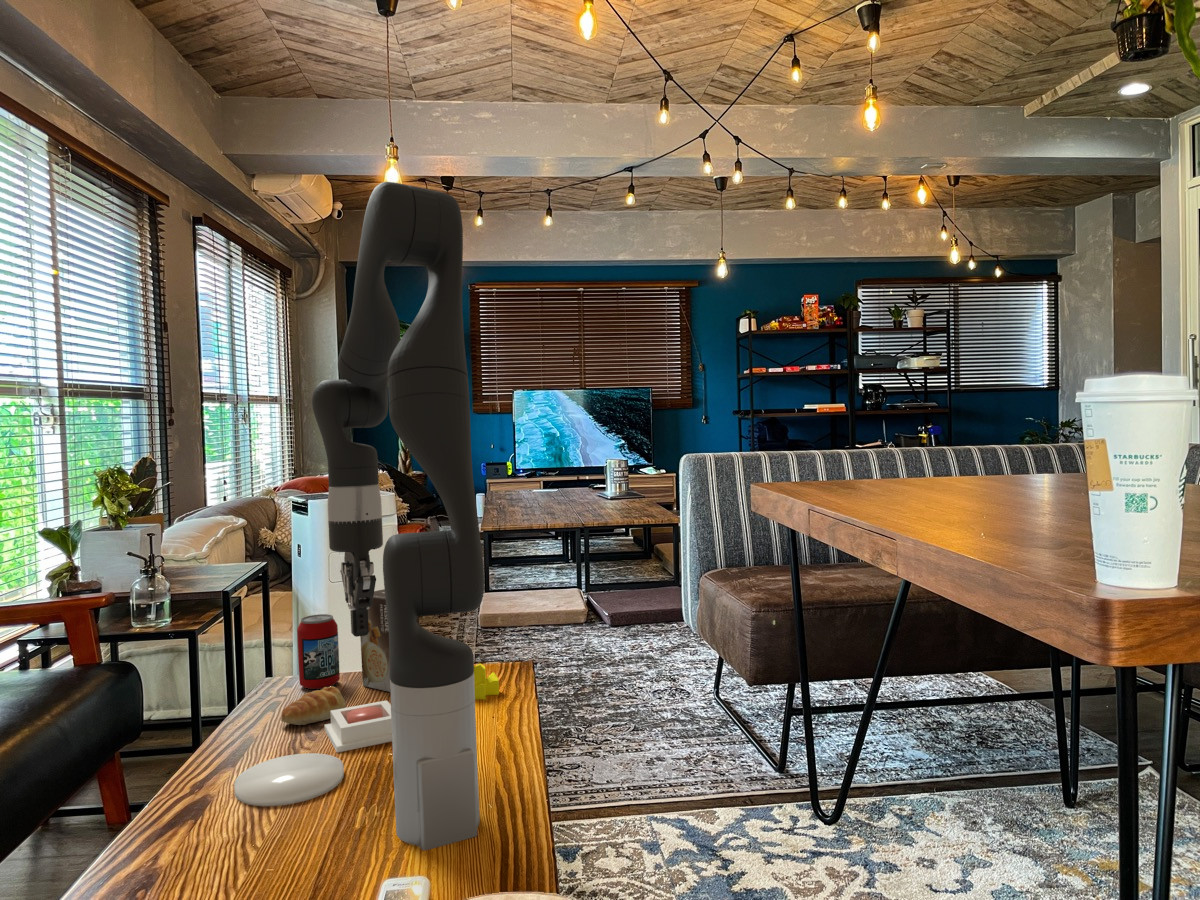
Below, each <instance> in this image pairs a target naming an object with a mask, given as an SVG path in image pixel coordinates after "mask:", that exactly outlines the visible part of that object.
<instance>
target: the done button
mask: <svg viewBox="0 0 1200 900" xmlns="http://www.w3.org/2000/svg"><path fill="white" fill-rule="evenodd" d="M382 717H383V711H382V709H381V708H378V707H364V708H358V709H355V710H352V711H350V712H349V713H348V714H347V722H348V724H351V723H356V722H361V721H366V720H371V719H377V718H382Z"/></svg>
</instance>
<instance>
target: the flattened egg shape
mask: <svg viewBox="0 0 1200 900" xmlns="http://www.w3.org/2000/svg"><path fill="white" fill-rule="evenodd" d="M344 774H345V773H344V762H343V761H342V760H341V759H340V758H338V757H336V756H335V755H334V756H333V755H330V754H327V753H318V752H317V753H314V752H313V753H312V752H309V753H308V752H307V753H296V754H290V755H289V754H288V755H283V756H279V757H278V756H277V757H274V758H271V759H267V760H264V761H262V762H259V763H256V764H255V765H253V766H251V767H248V768H247V769H245V770H244V771H242V772H241V773H240V774H239V775H238V776H237V777H236V778H235V780H234V784H233V785H234V787H233V788H234V796H235V798H236V799H237V800H238V801H239V802H241V803H243V804H246V805H249V806H256V807H257V806H258V807H279V806H287V805H293V804H297V803H298V804H299V803H301V802H302V803H303V802H305V801H310V800H312V799H315V798H318V797H319V796H322V795H325V794H327V793H329V792H330V791H332V790H333V789H335V788H336V787H338V786H339V785H340V784H341V782H342V781H343V780H342V779H344ZM339 783H340V784H339ZM338 784H339V785H338Z"/></svg>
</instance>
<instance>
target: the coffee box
mask: <svg viewBox="0 0 1200 900" xmlns="http://www.w3.org/2000/svg"><path fill="white" fill-rule="evenodd" d="M416 622H417V623H418V624H419V625H420V616H418V617H417V619H416ZM368 626H369V633H368V634H367V635H365V636H359V637H360V639H359V640H360V655H361V657H360V658H361V674H362V675H361V678H362V680H361V681H362V686H363V687H367V688H371V689H375V690H380V691H384V692H389V693H390V659H389V630H388V619H387V609H386V599H385V588H384V589H379V590H374V596H373V604H372V607H369V609H368Z"/></svg>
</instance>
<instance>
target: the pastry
mask: <svg viewBox="0 0 1200 900" xmlns="http://www.w3.org/2000/svg"><path fill="white" fill-rule="evenodd" d="M342 708H347V704H346V701H345V698H344V697H343V695H342V693H341V691H340V689H339V688H338V687H336V686H334V685H333V686H331V687H324V688H323V689H320V690H312V691H311V692H306V693H304V694H302V695H301V696H300V698H298V699H296V700H295V701H292V702H291V703H290V704H289V705H287V706H286V707H285V708H284V709H283V710H282V712H281V718H280V721H281V722H283V723H284V724H285V723H286V724H290V725H294V726H296V725H298V726H301V725H302V726H306V725H307V724H313V723H314V724H315V723H317V722H321V721H325V720H329V719H330V720H331V715H330V711H331V710H337V709H342Z"/></svg>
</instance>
